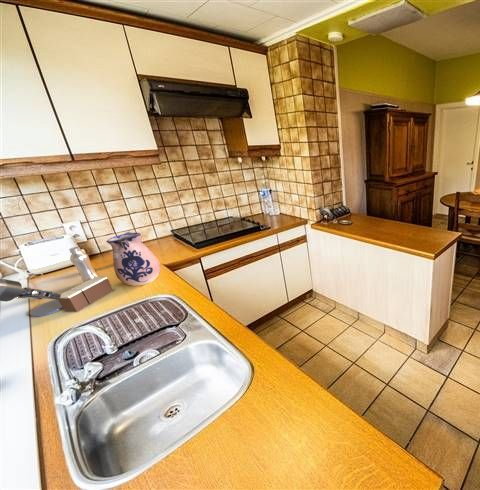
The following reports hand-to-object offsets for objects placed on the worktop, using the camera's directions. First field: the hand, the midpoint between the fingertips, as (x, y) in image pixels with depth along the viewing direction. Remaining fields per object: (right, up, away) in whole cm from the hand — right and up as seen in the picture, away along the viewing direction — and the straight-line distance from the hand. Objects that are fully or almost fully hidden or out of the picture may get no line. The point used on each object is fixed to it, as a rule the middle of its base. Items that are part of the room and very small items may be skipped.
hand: (50, 296), depth 108 cm
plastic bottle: (-14, +1, +30) cm, 34 cm away
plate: (-12, -7, +11) cm, 17 cm away
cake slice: (+1, -7, +9) cm, 12 cm away
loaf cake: (+2, -4, +17) cm, 17 cm away
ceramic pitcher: (+13, +3, +30) cm, 33 cm away
